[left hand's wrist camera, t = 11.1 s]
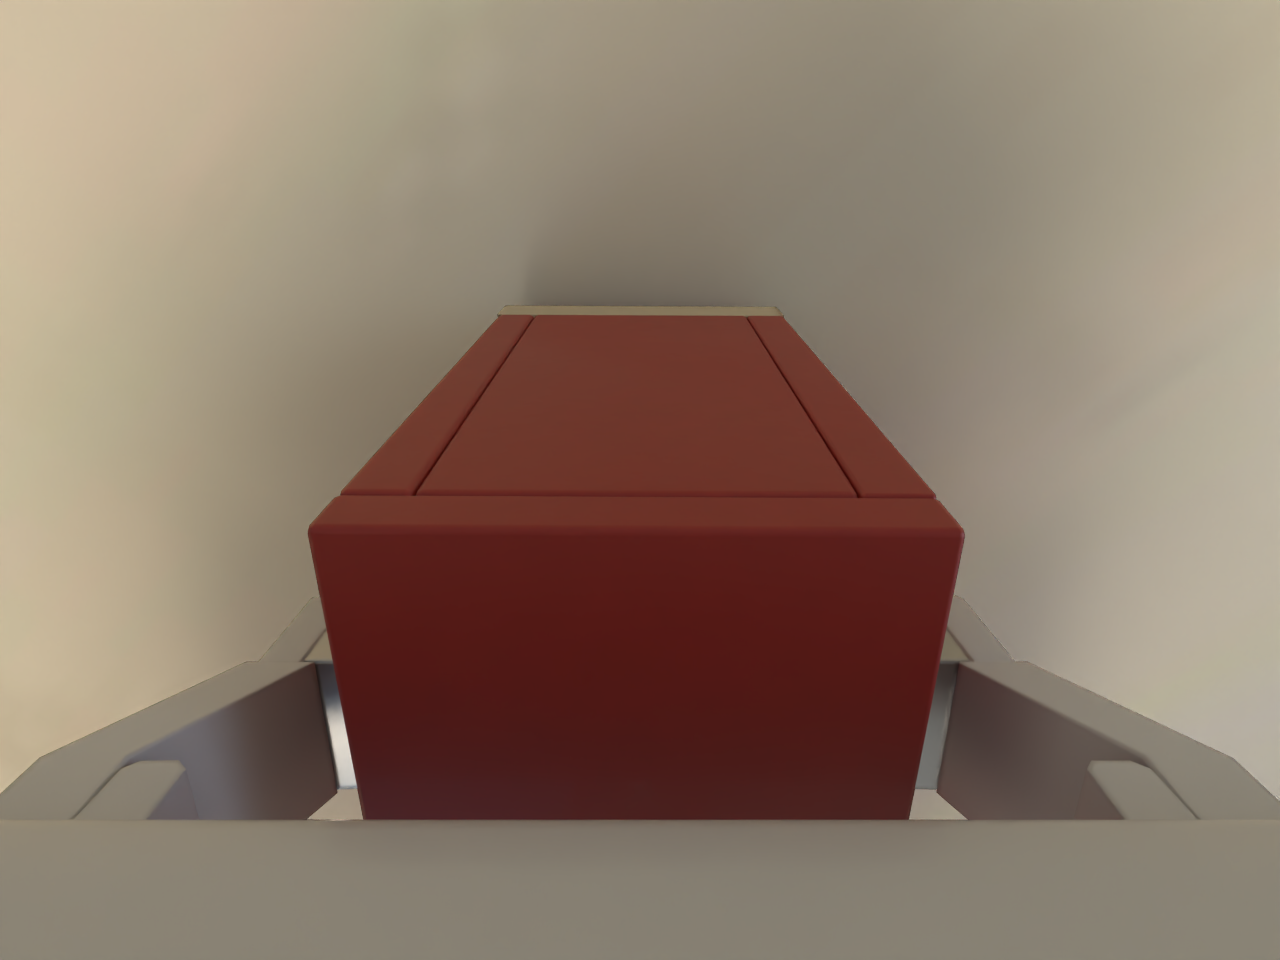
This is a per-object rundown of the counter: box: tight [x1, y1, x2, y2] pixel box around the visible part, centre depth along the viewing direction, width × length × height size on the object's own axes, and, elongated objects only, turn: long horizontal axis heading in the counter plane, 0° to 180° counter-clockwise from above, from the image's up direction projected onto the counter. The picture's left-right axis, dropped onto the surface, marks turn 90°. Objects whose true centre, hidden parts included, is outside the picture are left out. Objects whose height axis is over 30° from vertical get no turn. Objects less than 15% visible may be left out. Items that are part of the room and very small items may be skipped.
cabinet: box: [308, 306, 965, 820], centre depth 15 cm, size 19×6×10 cm, turn 0°
